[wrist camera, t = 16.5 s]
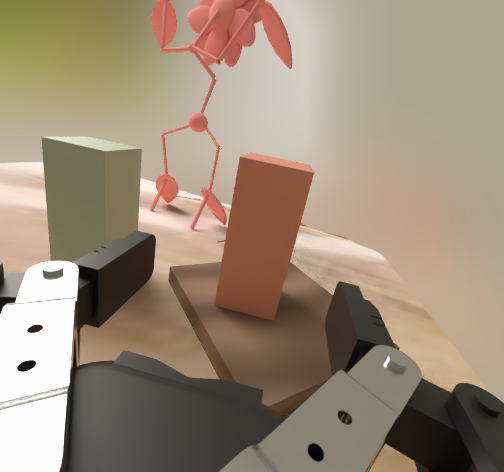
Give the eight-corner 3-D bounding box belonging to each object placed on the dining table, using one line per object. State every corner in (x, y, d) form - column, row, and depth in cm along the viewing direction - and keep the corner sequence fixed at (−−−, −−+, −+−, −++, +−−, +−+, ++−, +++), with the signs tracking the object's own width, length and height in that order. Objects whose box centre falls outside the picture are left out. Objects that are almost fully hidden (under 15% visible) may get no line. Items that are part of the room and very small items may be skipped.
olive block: (104, 292, 24) (105, 151, 20) (52, 278, 25) (41, 136, 20) (135, 267, 29) (141, 148, 25) (91, 255, 29) (89, 136, 25)
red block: (273, 320, 22) (314, 172, 18) (214, 305, 23) (239, 156, 19) (277, 289, 27) (310, 165, 23) (227, 276, 27) (251, 152, 23)
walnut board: (168, 280, 28) (170, 266, 27) (279, 267, 35) (282, 256, 35) (248, 432, 15) (253, 412, 15) (392, 362, 23) (399, 347, 22)
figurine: (233, 251, 37) (302, -100, 25) (115, 196, 48) (125, -61, 37) (283, 231, 49) (345, -8, 38) (180, 192, 61) (203, -1, 49)
